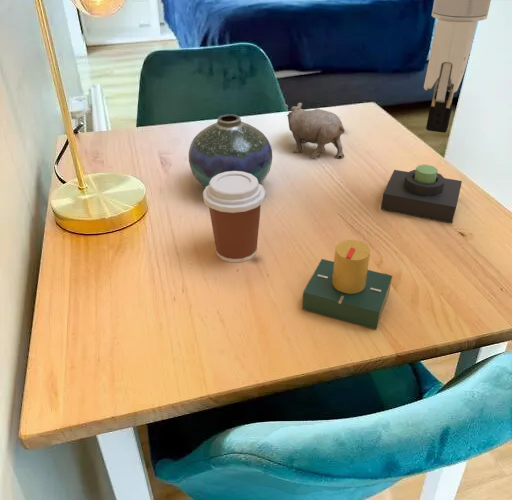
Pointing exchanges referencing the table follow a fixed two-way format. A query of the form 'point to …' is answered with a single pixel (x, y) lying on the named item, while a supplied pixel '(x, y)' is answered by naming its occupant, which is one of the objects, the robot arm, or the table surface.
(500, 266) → the table surface
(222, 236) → the coffee cup
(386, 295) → the panel
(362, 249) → the knob
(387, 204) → the button base
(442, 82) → the robot arm
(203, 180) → the vase
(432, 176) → the green short cylinder
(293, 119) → the rhinoceros figurine
